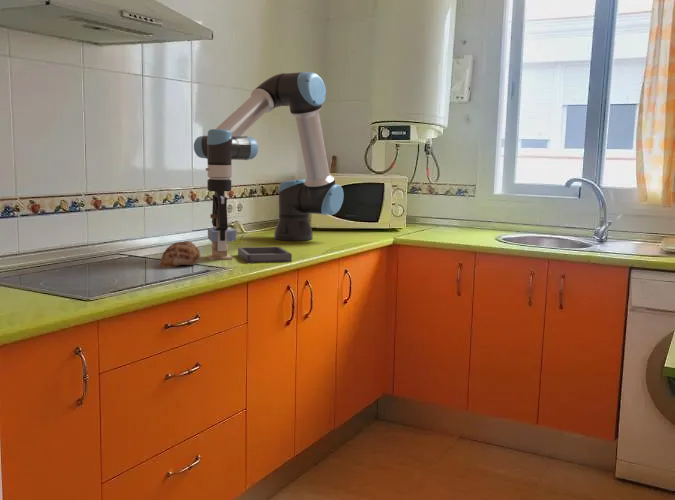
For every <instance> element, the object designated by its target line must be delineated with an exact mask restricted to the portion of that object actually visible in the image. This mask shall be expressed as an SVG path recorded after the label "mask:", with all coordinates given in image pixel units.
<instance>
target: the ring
mask: <svg viewBox="0 0 675 500" xmlns="http://www.w3.org/2000/svg"><path fill="white" fill-rule="evenodd" d="M207 239H209V241H210V242H211V243H212V242H218V231H216V228H213V227H212V228H211V227H209V228H207ZM232 241H233V242H236V241H237V231H236V229H229V228H228V229H227V243H228V242H232Z"/></svg>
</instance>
